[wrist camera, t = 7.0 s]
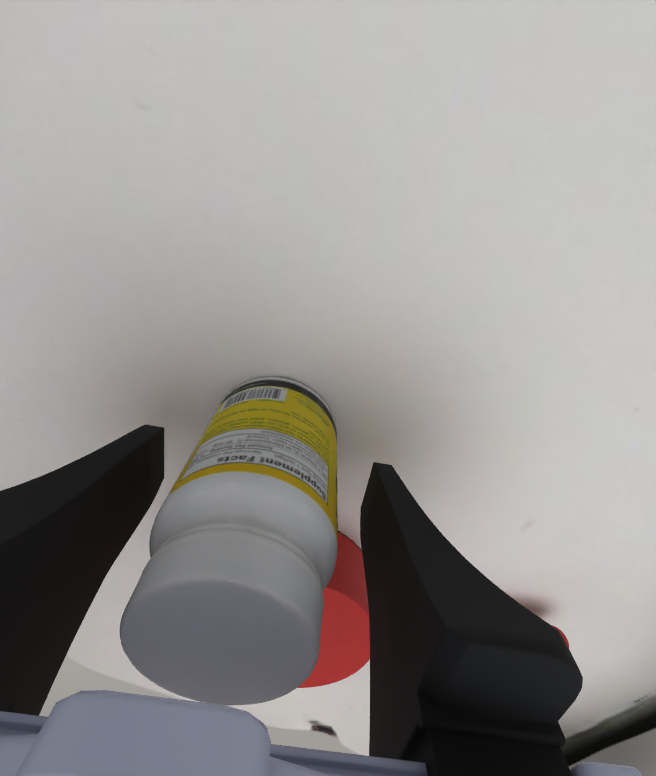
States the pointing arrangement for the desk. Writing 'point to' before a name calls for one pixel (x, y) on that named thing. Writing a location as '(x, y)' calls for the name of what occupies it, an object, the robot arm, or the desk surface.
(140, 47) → the desk surface
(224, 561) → the supplement bottle
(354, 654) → the red handled disc
